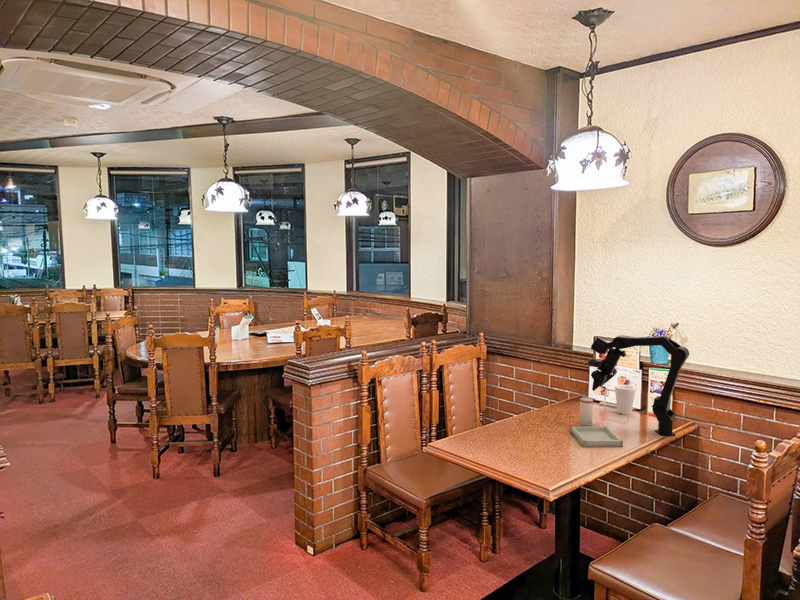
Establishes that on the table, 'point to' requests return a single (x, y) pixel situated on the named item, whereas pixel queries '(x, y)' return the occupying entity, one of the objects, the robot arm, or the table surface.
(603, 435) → the tray
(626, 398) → the foam cup
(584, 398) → the tumbler
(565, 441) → the table surface
